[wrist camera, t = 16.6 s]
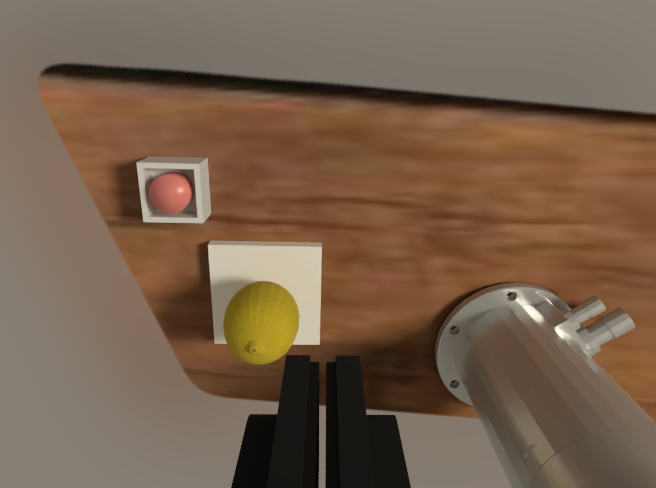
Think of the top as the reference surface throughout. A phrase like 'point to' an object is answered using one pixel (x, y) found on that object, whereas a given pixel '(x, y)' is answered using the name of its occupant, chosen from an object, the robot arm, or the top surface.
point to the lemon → (261, 322)
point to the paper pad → (268, 279)
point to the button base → (188, 166)
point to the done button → (171, 192)
